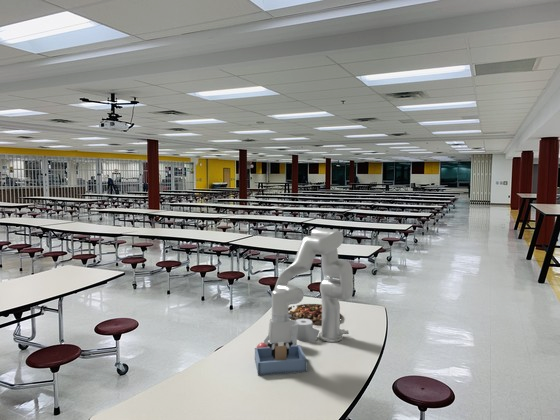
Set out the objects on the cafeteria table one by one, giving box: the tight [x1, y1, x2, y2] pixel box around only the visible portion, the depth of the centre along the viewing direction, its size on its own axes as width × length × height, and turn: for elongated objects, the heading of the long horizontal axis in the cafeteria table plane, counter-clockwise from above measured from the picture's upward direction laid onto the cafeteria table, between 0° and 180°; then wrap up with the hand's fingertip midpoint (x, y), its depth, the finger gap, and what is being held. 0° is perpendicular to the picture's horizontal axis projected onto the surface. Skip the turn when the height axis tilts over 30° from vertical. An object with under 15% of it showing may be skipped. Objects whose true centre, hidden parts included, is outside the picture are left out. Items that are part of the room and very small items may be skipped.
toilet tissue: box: [296, 319, 320, 342], centre depth 206 cm, size 9×13×9 cm
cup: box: [288, 320, 298, 346], centre depth 196 cm, size 8×8×12 cm
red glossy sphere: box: [256, 342, 269, 348], centre depth 185 cm, size 6×6×6 cm
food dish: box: [288, 303, 343, 326], centre depth 239 cm, size 35×33×8 cm
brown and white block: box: [274, 342, 287, 361], centre depth 175 cm, size 5×5×9 cm
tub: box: [254, 344, 308, 377], centre depth 175 cm, size 21×15×6 cm
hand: (280, 356), depth 175 cm, fingers closed on brown and white block, 4 cm apart
